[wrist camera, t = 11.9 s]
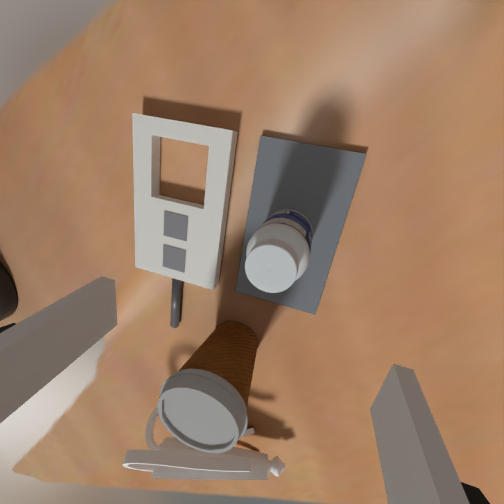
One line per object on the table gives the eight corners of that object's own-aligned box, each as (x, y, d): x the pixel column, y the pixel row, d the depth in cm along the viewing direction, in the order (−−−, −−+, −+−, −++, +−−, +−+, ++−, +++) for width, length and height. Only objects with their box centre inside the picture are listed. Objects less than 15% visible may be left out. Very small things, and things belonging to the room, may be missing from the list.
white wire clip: (282, 401, 35) (128, 399, 37) (286, 492, 30) (108, 485, 32) (282, 405, 49) (170, 404, 51) (284, 468, 44) (161, 463, 46)
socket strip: (211, 336, 37) (206, 344, 35) (143, 313, 38) (136, 320, 37) (237, 131, 26) (232, 130, 24) (142, 115, 28) (131, 112, 26)
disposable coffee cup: (228, 297, 33) (182, 366, 23) (284, 344, 34) (264, 434, 23) (192, 336, 38) (138, 410, 27) (241, 378, 38) (208, 468, 27)
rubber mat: (236, 289, 33) (235, 291, 32) (261, 135, 26) (260, 135, 25) (315, 312, 31) (315, 314, 30) (365, 153, 24) (366, 153, 23)
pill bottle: (299, 264, 29) (287, 313, 20) (256, 242, 29) (226, 281, 20) (322, 221, 26) (321, 256, 18) (275, 199, 27) (251, 222, 18)
